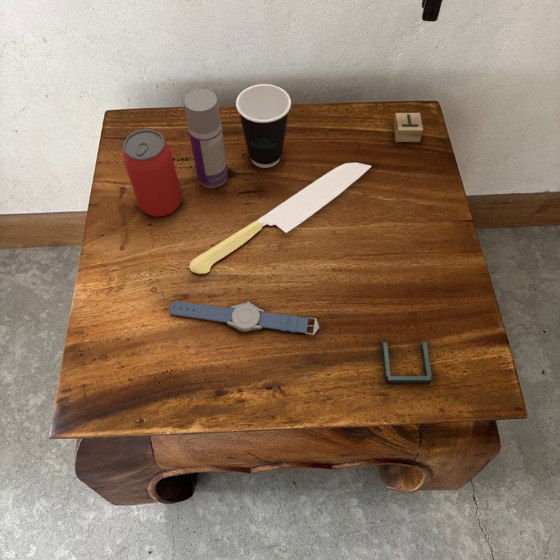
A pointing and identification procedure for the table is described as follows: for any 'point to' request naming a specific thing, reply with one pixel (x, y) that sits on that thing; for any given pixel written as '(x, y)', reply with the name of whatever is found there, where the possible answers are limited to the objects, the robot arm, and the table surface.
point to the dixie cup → (264, 122)
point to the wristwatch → (244, 317)
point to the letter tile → (408, 127)
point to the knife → (286, 212)
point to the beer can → (152, 172)
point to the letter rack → (407, 378)
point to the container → (206, 137)
